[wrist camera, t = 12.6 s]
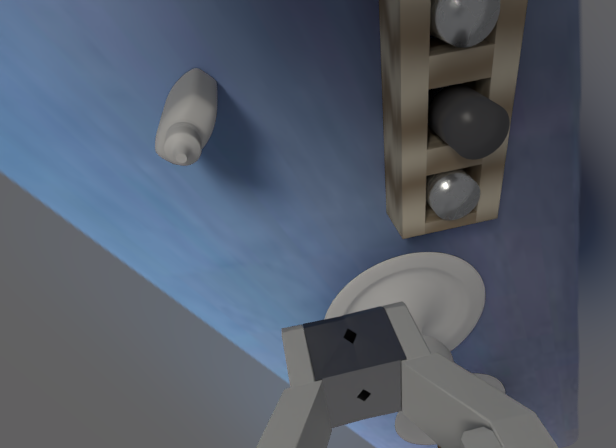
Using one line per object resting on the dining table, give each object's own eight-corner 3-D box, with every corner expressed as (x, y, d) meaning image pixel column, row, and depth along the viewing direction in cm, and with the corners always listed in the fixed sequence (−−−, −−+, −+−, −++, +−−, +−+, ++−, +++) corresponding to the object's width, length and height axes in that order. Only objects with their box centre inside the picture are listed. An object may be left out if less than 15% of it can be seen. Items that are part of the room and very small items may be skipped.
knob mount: (377, -42, 34) (399, -38, 30) (498, -63, 35) (536, -62, 31) (386, 212, 48) (402, 239, 44) (473, 194, 48) (497, 218, 44)
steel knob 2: (413, 159, 44) (434, 183, 39) (457, 150, 44) (482, 173, 40) (413, 198, 46) (432, 224, 42) (454, 189, 46) (477, 214, 42)
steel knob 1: (414, -22, 34) (441, -16, 30) (469, -32, 35) (503, -27, 31) (414, 39, 37) (439, 52, 33) (465, 30, 37) (496, 41, 33)
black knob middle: (428, 89, 36) (455, 109, 32) (480, 79, 37) (513, 98, 33) (426, 140, 39) (451, 164, 35) (475, 130, 39) (505, 153, 35)
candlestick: (257, 313, 53) (290, 607, 30) (439, 205, 48) (642, 449, 26) (339, 389, 64) (409, 645, 41) (492, 307, 60) (665, 540, 37)
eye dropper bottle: (231, 107, 38) (237, 167, 29) (175, 135, 39) (161, 203, 29) (206, 61, 36) (203, 108, 26) (146, 90, 36) (120, 148, 26)
